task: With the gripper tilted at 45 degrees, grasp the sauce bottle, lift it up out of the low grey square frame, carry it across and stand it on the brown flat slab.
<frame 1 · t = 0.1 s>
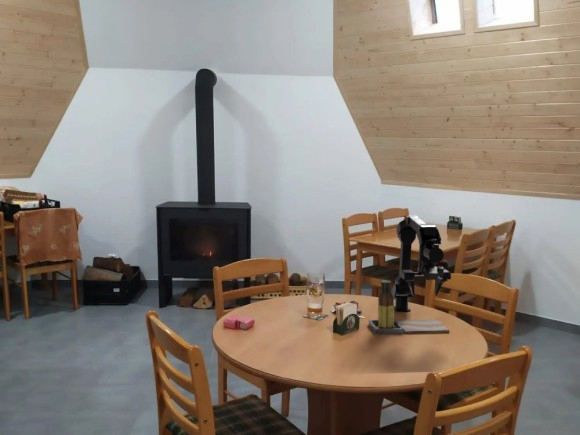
hand: (424, 295, 201), 15 cm above the table, tool pointing down, fingers open, 9 cm apart
sauce bottle: (385, 329, 205), resting in grey square frame
brown flat slab: (421, 327, 208), on the table
grey square frame: (385, 329, 205), on the table
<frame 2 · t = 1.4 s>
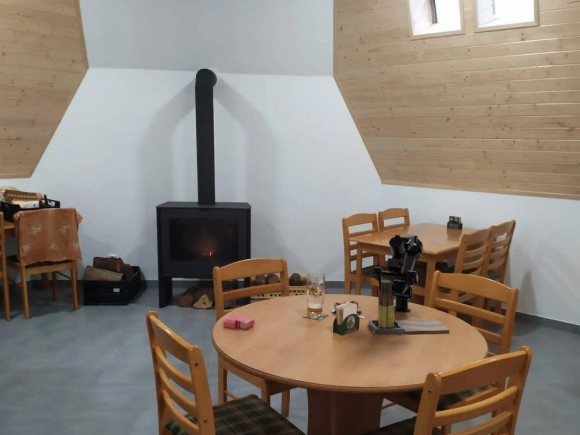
hand: (391, 292, 210), 13 cm above the table, tool tilted 45°, fingers open, 9 cm apart
nothing on the table moved.
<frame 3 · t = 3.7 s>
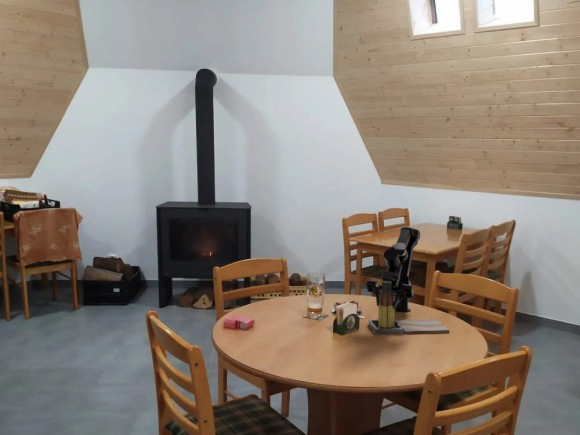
hand: (385, 306, 203), 10 cm above the table, tool tilted 45°, fingers closed on sauce bottle, 6 cm apart
sauce bottle: (385, 329, 205), resting in grey square frame, touching gripper
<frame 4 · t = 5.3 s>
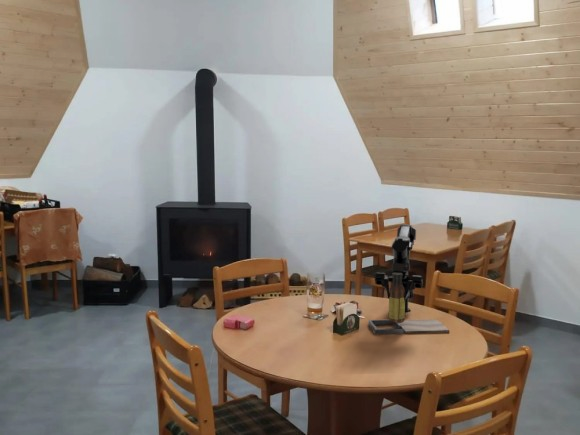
hand: (396, 298, 201), 13 cm above the table, tool tilted 45°, fingers closed on sauce bottle, 6 cm apart
sauce bottle: (396, 321, 204), point 3 cm above the table, touching gripper
when the fingers open (12 cm above the table, at t = 7.2 s): sauce bottle drops 1 cm, resting on brown flat slab.
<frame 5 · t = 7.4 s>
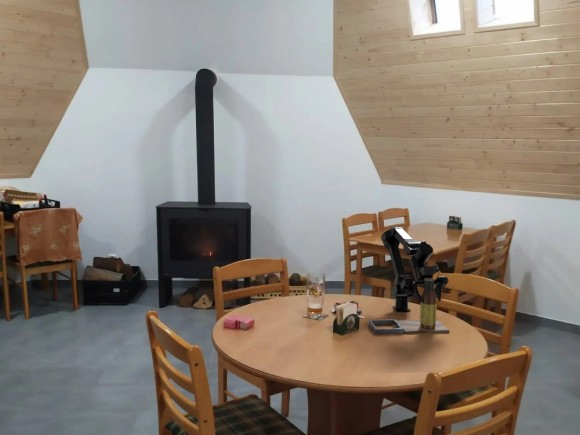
hand: (430, 301, 202), 12 cm above the table, tool tilted 45°, fingers open, 8 cm apart
sauce bottle: (427, 327, 205), point 1 cm above the table, touching brown flat slab
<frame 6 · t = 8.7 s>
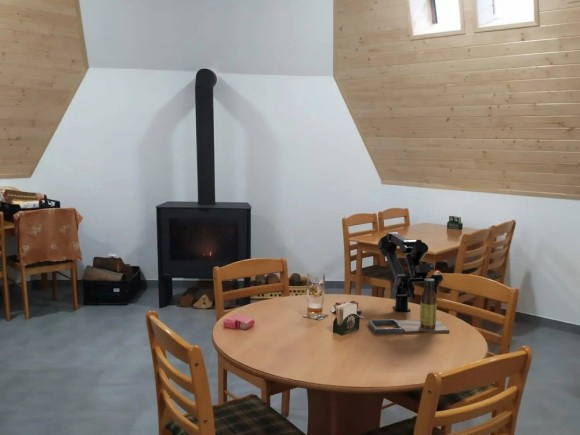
hand: (425, 298, 207), 12 cm above the table, tool tilted 45°, fingers open, 9 cm apart
nothing on the table moved.
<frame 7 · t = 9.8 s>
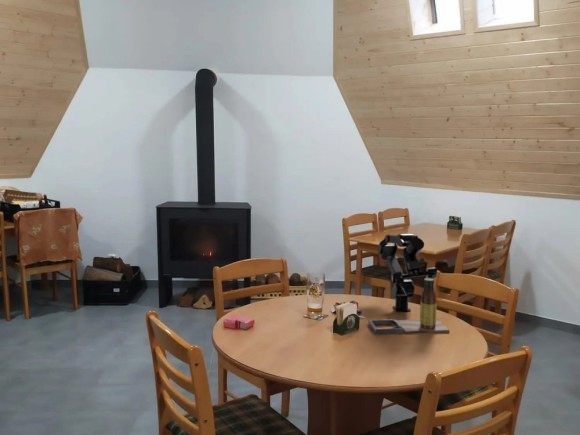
hand: (418, 294, 212), 12 cm above the table, tool tilted 40°, fingers open, 9 cm apart
nothing on the table moved.
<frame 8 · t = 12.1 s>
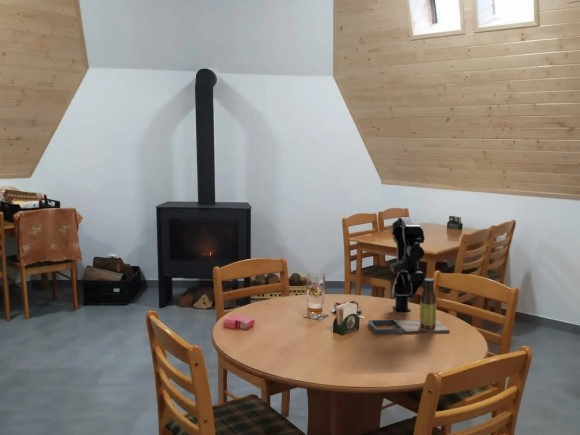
hand: (409, 291, 213), 13 cm above the table, tool pointing down, fingers open, 9 cm apart
nothing on the table moved.
at the end: sauce bottle inside the target area on the brown flat slab (2.0 cm from its centre), point 0.8 cm above the brown flat slab's base; sauce bottle tilted 0°; the gripper is holding nothing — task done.
